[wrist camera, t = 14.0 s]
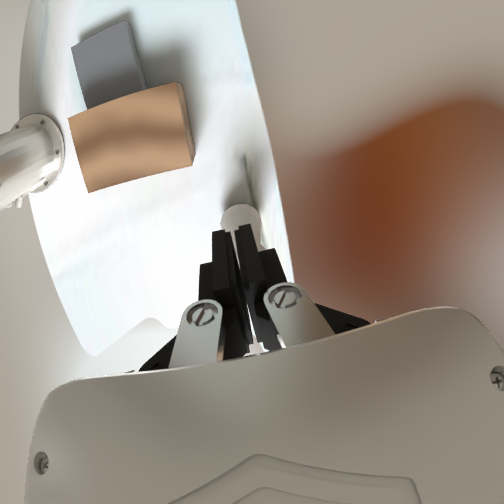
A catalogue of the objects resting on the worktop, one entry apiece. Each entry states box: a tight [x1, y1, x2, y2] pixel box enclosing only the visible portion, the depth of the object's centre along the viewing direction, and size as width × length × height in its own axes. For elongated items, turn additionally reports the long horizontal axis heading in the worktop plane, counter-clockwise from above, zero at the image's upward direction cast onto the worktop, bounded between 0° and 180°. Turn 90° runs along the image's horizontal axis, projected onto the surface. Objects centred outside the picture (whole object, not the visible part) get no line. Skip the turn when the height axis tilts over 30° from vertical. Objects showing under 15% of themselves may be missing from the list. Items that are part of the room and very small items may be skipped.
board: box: [71, 21, 147, 110], centre depth 27 cm, size 16×8×3 cm, turn 13°
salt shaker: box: [220, 204, 266, 268], centre depth 36 cm, size 6×6×13 cm
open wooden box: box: [68, 82, 195, 193], centre depth 30 cm, size 10×14×7 cm
